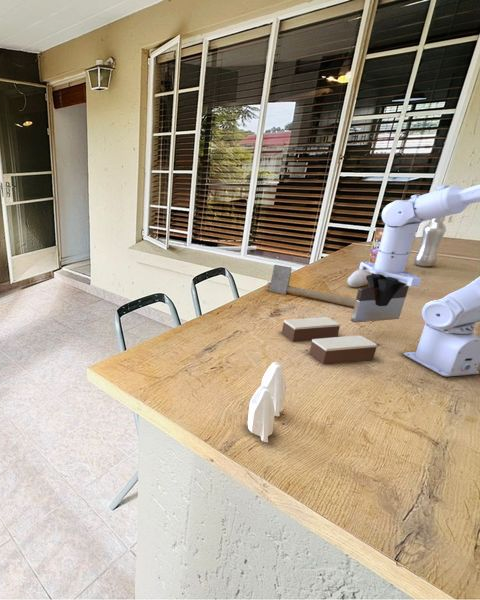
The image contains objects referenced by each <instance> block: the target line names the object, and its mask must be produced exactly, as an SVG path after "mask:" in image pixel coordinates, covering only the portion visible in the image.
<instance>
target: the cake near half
mask: <svg viewBox="0 0 480 600" xmlns="http://www.w3.org/2000/svg"><path fill="white" fill-rule="evenodd" d="M377 347H378V344H377V343H375V342H373V341H372V340H369V339H368V338H366V337H364V336H363V335H360V334H359V335H358V334H357V335H347V336H346V335H345V336H337V337H333V338H321V339H312V340H311V344H310V349H309V355H311V356H312V357H313V358H315V359H316V361H319V362H320V363H322V364H323V365H325V364H326V365H327V364H328V365H329V364H339V363H350V362H361V361H362V362H363V361H373V360H374V358H375V354H376V350H377Z"/></svg>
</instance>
